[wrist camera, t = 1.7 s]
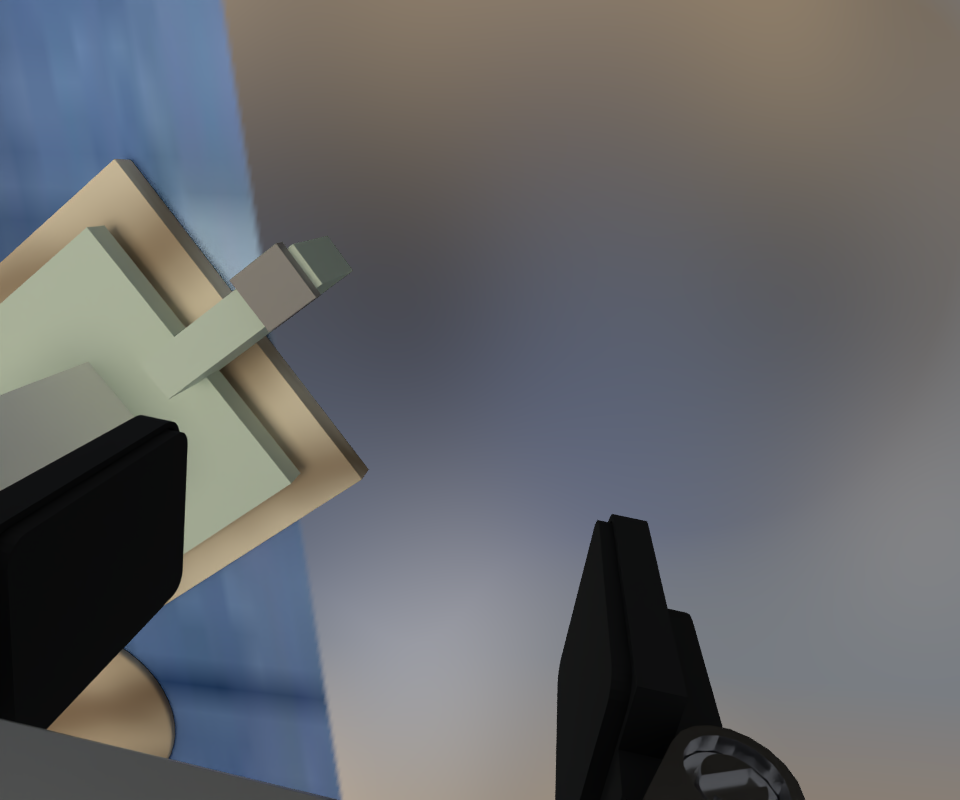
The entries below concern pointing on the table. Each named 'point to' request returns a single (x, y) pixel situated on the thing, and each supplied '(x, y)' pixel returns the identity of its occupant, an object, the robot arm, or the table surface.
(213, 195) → the table surface
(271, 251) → the green piece
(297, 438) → the stand
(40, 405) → the box with copper trim
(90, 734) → the mat
